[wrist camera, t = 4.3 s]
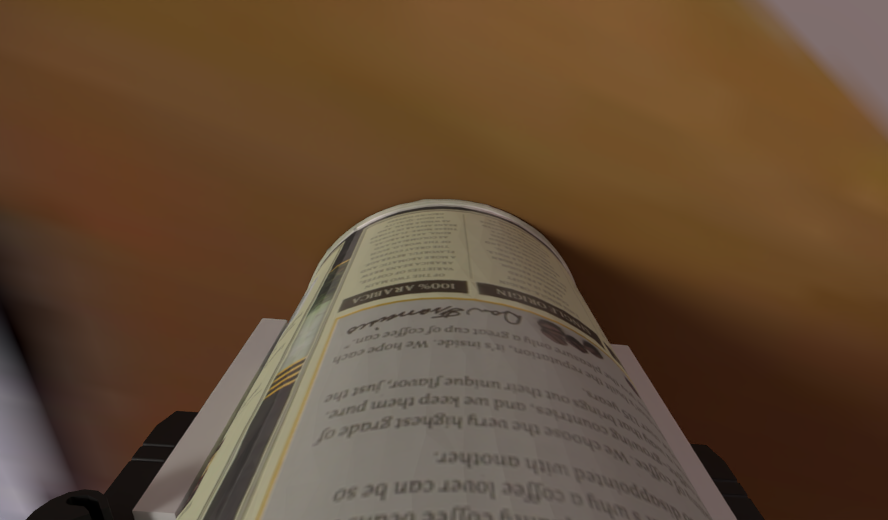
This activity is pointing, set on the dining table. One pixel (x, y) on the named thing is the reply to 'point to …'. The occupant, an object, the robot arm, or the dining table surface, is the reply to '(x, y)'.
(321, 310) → the coffee can
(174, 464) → the robot arm
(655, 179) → the dining table surface
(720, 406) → the dining table surface
